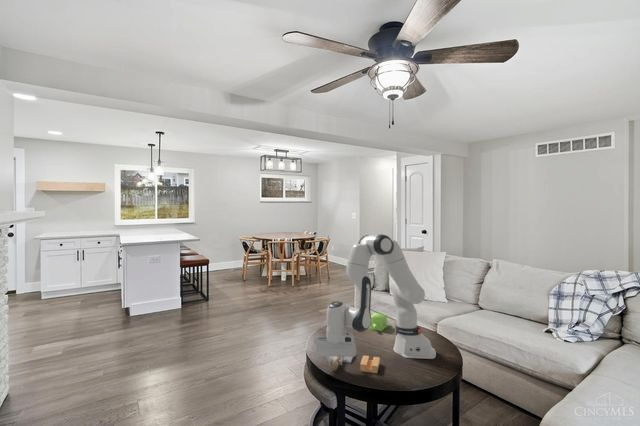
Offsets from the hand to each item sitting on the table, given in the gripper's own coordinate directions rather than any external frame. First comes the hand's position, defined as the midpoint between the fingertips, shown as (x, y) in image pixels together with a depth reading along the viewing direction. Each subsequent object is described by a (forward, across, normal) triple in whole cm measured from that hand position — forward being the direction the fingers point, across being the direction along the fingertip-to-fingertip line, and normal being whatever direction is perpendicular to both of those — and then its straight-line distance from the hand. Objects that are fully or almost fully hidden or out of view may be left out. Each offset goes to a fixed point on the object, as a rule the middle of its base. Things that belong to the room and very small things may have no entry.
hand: (335, 364), depth 157 cm
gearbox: (+3, +31, +55) cm, 63 cm away
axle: (+1, +1, +4) cm, 4 cm away
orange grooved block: (+3, +17, +2) cm, 18 cm away
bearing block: (+3, +5, +17) cm, 18 cm away
